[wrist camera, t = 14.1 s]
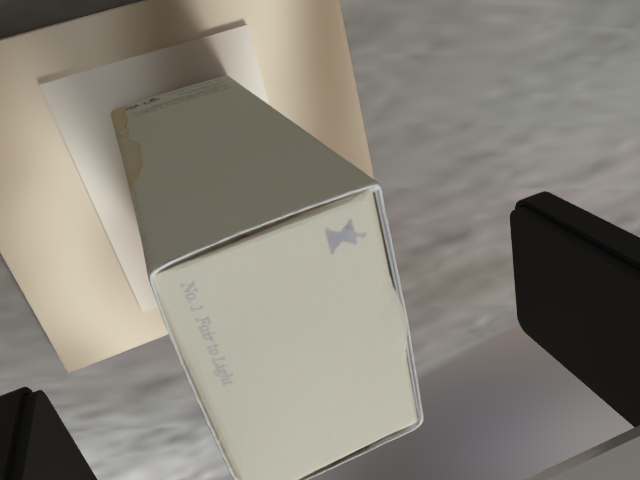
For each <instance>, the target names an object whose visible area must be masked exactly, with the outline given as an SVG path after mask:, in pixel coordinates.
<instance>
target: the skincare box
mask: <svg viewBox="0 0 640 480" xmlns="http://www.w3.org/2000/svg"><path fill="white" fill-rule="evenodd" d="M111 118H112V123H113V126H114V130H115V134H116V138H117V142H118V146H119V149H120V153H121V156H122V160H123V164H124V169H125V173H126V177H127V181H128V185H129V190H130V194H131V199H132V203H133V207H134V211H135V215H136V220H137V224H138V229H139V233H140V238H141V242H142V247H143V253H144V258H145V263H146V268H147V275H148V279H149V282H150V285H151V288H152V290H153V293H154V296H155V299H156V302H157V304H158V307H159V310H160V313H161V315H162V318H163V321H164V323H165V326H166V329H167V331H168V333H169V336H170V338H171V341H172V343H173V345H174V348H175V351H176V353H177V356H178V358H179V360H180V363H181V365H182V367H183V370H184V372H185V375H186V377H187V379H188V382H189V384H190V386H191V389H192V391H193V393H194V395H195V398H196V400H197V402H198V404H199V406H200V409H201V411H202V413H203V415H204V418H205V420H206V422H207V424H208V426H209V429H210V431H211V433H212V435H213V437H214V439H215V442H216V444H217V446H218V448H219V450H220V452H221V454H222V456H223V459H224V461H225V463H226V465H227V467H228V469H229V471H230V473H231V475H232V477H233V479H234V480H308V479H310V478H312V477H314V476H316V475H319V474H321V473H323V472H325V471H327V470H330V469H332V468H335V467H336V466H338V465H340V464H342V463H345V462H347V461H349V460H352V459H354V458H356V457H358V456H360V455H362V454H365V453H366V452H368V451H370V450H372V449H375V448H377V447H379V446H381V445H383V444H385V443H387V442H390V441H392V440H394V439H396V438H398V437H400V436H402V435H404V434H406V433H408V432H411V431H413V430H415V429H416V428H418V427H419V426H420V425H421V424H422V422H423V412H422V405H421V399H420V392H419V385H418V379H417V374H416V367H415V361H414V355H413V349H412V343H411V336H410V330H409V323H408V318H407V313H406V308H405V304H404V299H403V294H402V289H401V283H400V278H399V273H398V269H397V264H396V259H395V254H394V249H393V244H392V239H391V234H390V230H389V224H388V219H387V216H386V211H385V206H384V200H383V194H382V190H381V187H380V184H379V183H378V182H377V181H375V180H374V179H373V178H371V177H370V176H368V175H367V174H366V173H364V172H363V171H362V170H360V169H359V168H357V167H356V166H354V165H353V164H352V163H350V162H349V161H347V160H346V159H344V158H343V157H341V156H340V155H338V154H337V153H336V152H334V151H333V150H331V149H330V148H328V147H327V146H326V145H325V144H323V143H322V142H320V141H319V140H317V139H316V138H315V137H313V136H312V135H311V134H309V133H308V132H306V131H305V130H304V129H302V128H301V127H299V126H298V125H296V124H295V123H294V122H292V121H291V120H289V119H288V118H286V117H285V116H284V115H282V114H281V113H280V112H278V111H277V110H275V109H274V108H273V107H271V106H270V105H269V104H267V103H266V102H264V101H263V100H261V99H260V98H259V97H257V96H256V95H254V94H253V93H251V92H250V91H249V90H247V89H246V88H244V87H243V86H242V85H240V84H239V83H238V82H236V81H235V80H233V79H232V78H231V77H229V76H222V77H219V78H215V79H211V80H208V81H204V82H201V83H197V84H194V85H190V86H186V87H183V88H179V89H176V90H173V91H170V92H166V93H163V94H159V95H156V96H153V97H150V98H147V99H144V100H141V101H138V102H135V103H132V104H129V105H126V106H123V107H120V108H117V109H115V110H113V111H112V112H111Z"/></svg>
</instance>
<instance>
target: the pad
mask: <svg viewBox="0 0 640 480" xmlns="http://www.w3.org/2000/svg"><path fill="white" fill-rule="evenodd" d="M222 76H229V77H231V78H232V79H233V80H235V81H236V82H238V83H239V84H240V85H242V86H243V87H244V88H246V89H247V90H249V91H250V92H251V93H253V94H254V95H256V96H257V97H259V98H260V99H261V100H263V101H264V102H266V103H267V104H269V105H270V106H271V107H273V108H274V109H275V110H277V111H278V112H280V113H281V114H282V115H284V116H285V117H286V118H288V119H289V120H291V121H292V122H294V123H295V124H296V125H298V126H299V127H301V128H302V129H304V130H305V131H306V132H308V133H309V134H311V135H312V136H313V137H315V138H316V139H317V140H319V141H320V142H322V143H323V144H325V145H326V146H327V147H328V148H330V149H331V150H333V151H334V152H336V153H337V154H338V155H340V156H341V157H343V158H344V159H346V160H347V161H349V162H350V163H352V164H353V165H354V166H356V167H357V168H359V169H360V170H362V171H363V172H364V173H366V174H367V175H368V176H370V177H371V178H373V179H374V176H373V171H372V165H371V160H370V155H369V150H368V145H367V140H366V135H365V130H364V124H363V119H362V114H361V109H360V104H359V99H358V94H357V89H356V84H355V78H354V73H353V68H352V63H351V58H350V53H349V48H348V43H347V37H346V32H345V27H344V22H343V17H342V12H341V7H340V2H339V0H144V1H140V2H136V3H132V4H129V5H125V6H121V7H118V8H114V9H110V10H106V11H103V12H99V13H95V14H92V15H88V16H84V17H80V18H77V19H73V20H69V21H66V22H62V23H58V24H55V25H51V26H47V27H43V28H40V29H36V30H32V31H29V32H25V33H21V34H17V35H14V36H10V37H6V38H3V39H0V253H1V254H2V256H3V258H4V260H5V261H6V263H7V265H8V267H9V269H10V270H11V272H12V274H13V276H14V277H15V279H16V281H17V283H18V285H19V286H20V288H21V290H22V292H23V293H24V295H25V297H26V299H27V300H28V302H29V304H30V306H31V308H32V309H33V311H34V313H35V315H36V316H37V318H38V320H39V322H40V324H41V325H42V327H43V329H44V331H45V332H46V334H47V336H48V338H49V340H50V341H51V343H52V345H53V347H54V348H55V350H56V352H57V354H58V355H59V357H60V359H61V361H62V363H63V364H64V366H65V368H66V370H67V371H68V373H70V372H73V371H75V370H78V369H80V368H83V367H86V366H88V365H91V364H93V363H96V362H98V361H101V360H103V359H106V358H109V357H111V356H114V355H116V354H119V353H121V352H124V351H126V350H129V349H132V348H134V347H137V346H139V345H142V344H144V343H147V342H149V341H152V340H155V339H157V338H160V337H162V336H165V335H167V334H169V333H168V331H167V329H166V326H165V323H164V321H163V318H162V315H161V313H160V310H159V307H158V304H157V302H156V299H155V296H154V293H153V290H152V288H151V285H150V282H149V279H148V275H147V268H146V263H145V258H144V253H143V247H142V242H141V238H140V233H139V229H138V224H137V220H136V215H135V211H134V207H133V203H132V199H131V194H130V190H129V185H128V181H127V177H126V173H125V169H124V164H123V160H122V156H121V153H120V149H119V146H118V142H117V138H116V134H115V130H114V126H113V123H112V118H111V112H112V111H113V110H115V109H117V108H120V107H123V106H126V105H129V104H132V103H135V102H138V101H141V100H144V99H147V98H150V97H153V96H156V95H159V94H163V93H166V92H170V91H173V90H176V89H179V88H183V87H186V86H190V85H194V84H197V83H201V82H204V81H208V80H211V79H215V78H219V77H222Z"/></svg>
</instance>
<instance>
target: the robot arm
mask: <svg viewBox="0 0 640 480" xmlns="http://www.w3.org/2000/svg"><path fill="white" fill-rule="evenodd" d="M510 226H511V239H512V252H513V266H514V279H515V292H516V305H517V317H518V321H519V324H520V326H521V327H522V329H523V330H524V332H526V334H527V335H528V336H530V337H531V338H532V339H533V340H534V341H535V342H537V343H538V344H539V345H540V346H541V347H542V348H544V349H545V350H546V351H547V352H548V353H549V354H551V355H552V356H553V357H554V358H555V359H556V360H557V361H559V362H560V363H561V364H562V365H563V366H564V367H566V368H567V369H568V370H569V371H570V372H571V373H572V374H574V375H575V376H576V377H577V378H578V379H580V380H581V381H582V382H583V383H584V384H585V385H586V386H588V387H589V388H590V389H591V390H592V391H593V392H595V393H596V394H597V395H598V396H599V397H600V398H602V399H603V400H604V401H605V402H606V403H607V404H608V405H610V406H611V407H612V408H613V409H614V410H615V411H616V412H618V413H619V414H620V415H621V416H622V417H623V418H625V419H626V420H627V421H628V422H629V423H630V424H632V425H633V426H634V427H635V428H633V429H631V430H629V431H627V432H625V433H623V434H620V435H618V436H616V437H614V438H612V439H610V440H608V441H606V442H603V443H601V444H599V445H597V446H595V447H593V448H591V449H589V450H586V451H584V452H582V453H580V454H578V455H576V456H574V457H572V458H569V459H567V460H565V461H563V462H561V463H559V464H557V465H555V466H552V467H550V468H548V469H546V470H544V471H542V472H540V473H538V474H535V475H533V476H531V477H529V478H527V479H525V480H640V238H639V237H637V236H635V235H633V234H631V233H629V232H627V231H625V230H623V229H621V228H619V227H617V226H615V225H613V224H611V223H609V222H607V221H605V220H603V219H601V218H599V217H597V216H595V215H593V214H591V213H589V212H587V211H585V210H583V209H581V208H579V207H577V206H575V205H573V204H571V203H569V202H567V201H565V200H563V199H561V198H559V197H557V196H555V195H553V194H551V193H549V192H546V191H545V192H541V193H538V194H535V195H533V196H530V197H527V198H525V199H522V200H519V201H518V202H517V203H516V206H515V210H513V211H512V212H511V214H510ZM0 480H97V478H96V477H95V475H94V473H93V472H92V470H91V468H90V467H89V465H88V463H87V462H86V460H85V459H84V457H83V455H82V454H81V452H80V450H79V449H78V447H77V445H76V444H75V442H74V440H73V439H72V437H71V435H70V434H69V432H68V430H67V429H66V427H65V425H64V424H63V422H62V420H61V419H60V417H59V415H58V414H57V412H56V410H55V409H54V407H53V405H52V404H51V402H50V401H49V399H48V397H47V396H46V394H45V393H44V392H43V391H42V390H38V391H36V392H32V391H31V390H30V389H29V388H28V387H23V388H20V389H17V390H15V391H12V392H10V393H7V394H4V395H2V396H0Z"/></svg>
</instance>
